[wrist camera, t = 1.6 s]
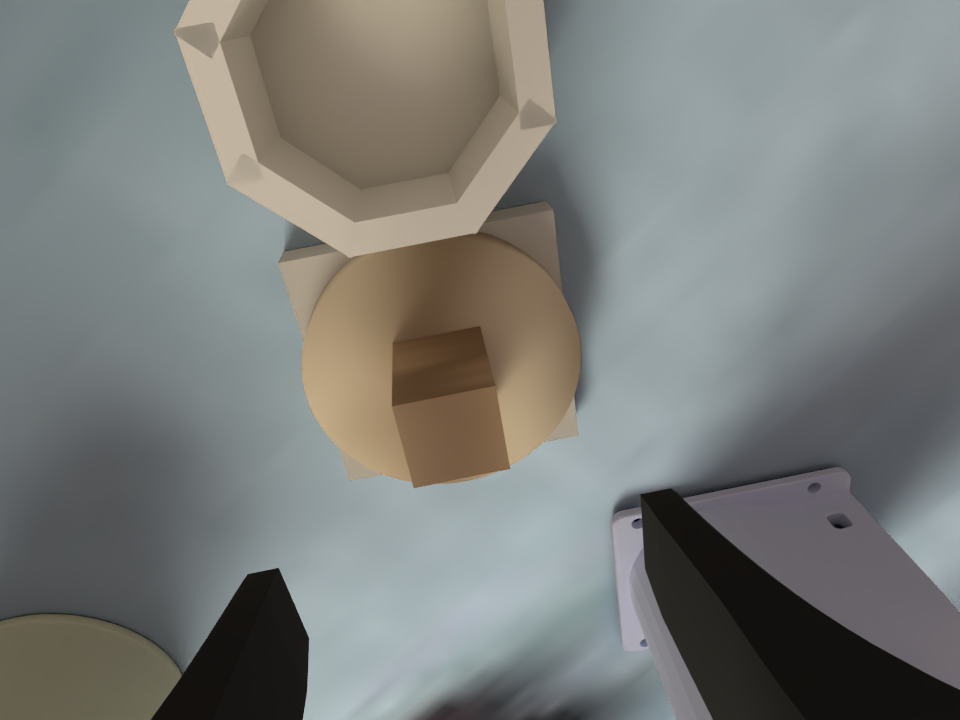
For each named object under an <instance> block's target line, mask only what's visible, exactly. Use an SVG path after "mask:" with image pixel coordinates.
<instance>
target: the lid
mask: <svg viewBox="0 0 960 720" xmlns="http://www.w3.org/2000/svg"><path fill="white" fill-rule="evenodd" d="M580 368H581V344H580V338H579V332H578V328H577V325H576V322H575V319H574V316H573V314H572V312H571V310H570V308H569V306H568V304H567V302H566V300H565V298H564V296H563V295H562V293H561V291H560V290H559V288H558V286H557V285H556V283H555V282H554V281H553V279H552V278H551V276H550V275H549V274H548V273H547V272H546V271H545V269H544V268H543V267H542V266H541V265H540V264H539V263H538V262H537V261H536V260H534V259H533V258H532V257H530V256H529V255H528V254H527V253H525V252H524V251H523V250H521V249H519V248H518V247H516V246H514V245H512V244H511V243H509V242H507V241H505V240H502V239H500V238H498V237H495V236H493V235H490V234H486V233H483V232H479V231H478V233H476V234H474V233H473V234H467V235H462V236H457V237H452V238H447V239H442V240H436V241H431V242H426V243H421V244H416V245H411V246H405V247H400V248H395V249H390V250H385V251H380V252H374V253H369V254H364V255H359V256H355V257H354V258H352V259H351V260H350V261H348V262H347V263H346V264H345V265H344V266H343V267H342V268H341V269H340V270H339V271H338V272H337V273H336V274H335V275H334V276H333V278H332V279H331V280H330V282H329V283H328V284H327V286H326V287H325V288H324V290H323V292H322V293H321V295H320V297H319V299H318V301H317V303H316V304H315V307H314V310H313V313H312V315H311V318H310V321H309V325H308V328H307V332H306V336H305V341H304V345H303V350H302V377H303V385H304V389H305V393H306V397H307V400H308V403H309V405H310V407H311V410H312V412H313V414H314V416H315V418H316V419H317V421H318V423H319V424H320V426H321V428H322V429H323V430H324V431H325V433H326V434H327V435H328V436H329V437H330V439H331V440H332V441H333V442H334V443H335V444H336V445H337V446H338V447H339V448H340V449H341V450H343V451H344V452H345V453H346V454H348V455H349V456H350V457H352V458H353V459H355V460H356V461H357V462H359V463H361V464H363V465H365V466H366V467H368V468H370V469H372V470H374V471H377V472H379V473H382V474H384V475H387V476H390V477H394V478H397V479H401V480H406V481H411V482H412V483H413V487H414V488H417V487H422V486H427V485H432V484H441V483H456V482H462V481H469V480H473V479H477V478H480V477H484V476H487V475H490V474H492V473H495V472H498V471H501V470H506V469H510V465H512V464H514V463H516V462H518V461H519V460H521V459H522V458H524V457H525V456H527V455H528V454H530V453H531V452H532V451H533V450H534V449H536V448H537V447H538V446H539V445H541V444H542V443H543V442H544V441H545V440H546V438H547V437H548V436H549V435H550V434H551V433H552V432H553V431H554V430H555V428H556V427H557V426H558V424H559V423H560V422H561V420H562V419H563V417H564V415H565V413H566V412H567V410H568V408H569V406H570V404H571V402H572V399H573V397H574V394H575V392H576V388H577V384H578V381H579V376H580Z"/></svg>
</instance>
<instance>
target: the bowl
mask: <svg viewBox="0 0 960 720" xmlns="http://www.w3.org/2000/svg"><path fill="white" fill-rule="evenodd" d="M174 31H175V32H174V34H175V35H176V37H177V39H178V42H179V45H180V48H181V51H182V54H183V57H184V60H185V62H186V65H187V68H188V71H189V74H190V77H191V80H192V83H193V86H194V88H195V91H196V94H197V97H198V100H199V103H200V106H201V109H202V111H203V114H204V117H205V120H206V123H207V126H208V129H209V132H210V134H211V137H212V140H213V143H214V146H215V149H216V152H217V155H218V158H219V160H220V163H221V166H222V169H223V172H224V175H225V178H226V181H227V182H226V183H227V184H228V186H232V187H233V188H235V189H237V190H238V191H240V192H242V193H243V194H245V195H247V196H248V197H250V198H252V199H253V200H255V201H257V202H258V203H260V204H262V205H263V206H265V207H267V208H268V209H270V210H272V211H273V212H275V213H277V214H278V215H280V216H282V217H283V218H285V219H287V220H288V221H290V222H291V223H293V224H295V225H296V226H298V227H300V228H301V229H303V230H305V231H306V232H308V233H310V234H311V235H313V236H315V237H316V238H318V239H320V240H321V241H323V242H325V243H326V244H328V245H330V246H331V247H333V248H335V249H336V250H338V251H340V252H341V253H343V254H345V255H346V256H347V257H348V258H349V257H350V258H352V257H354V256H359V255H364V254H369V253H374V252H380V251H385V250H390V249H395V248H400V247H405V246H411V245H416V244H421V243H426V242H431V241H436V240H442V239H447V238H452V237H457V236H462V235H467V234H473V233H474V234H476V233H478V230H479V228H480V227H481V226H482V224H483V223H484V221H485V220H486V219H487V217H488V216H489V214H490V213H491V212H492V210H493V209H494V207H495V206H496V205H497V203H498V202H499V200H500V199H501V198H502V196H503V195H504V193H505V192H506V191H507V189H508V188H509V186H510V185H511V184H512V182H513V181H514V179H515V178H516V177H517V175H518V174H519V172H520V171H521V170H522V168H523V167H524V165H525V164H526V163H527V161H528V160H529V158H530V157H531V156H532V154H533V153H534V151H535V150H536V149H537V147H538V146H539V144H540V143H541V142H542V140H543V139H544V137H545V136H546V135H547V133H548V132H549V130H550V129H551V128H552V126H553V125H554V124H556V121H557V119H556V118H555V108H554V99H553V89H552V79H551V69H550V60H549V50H548V40H547V30H546V21H545V11H544V1H543V0H189V3H188V5H187V7H186V9H185V11H184V13H183V15H182V17H181V19H180V22H179V24H178V26H177V28H176V29H174Z"/></svg>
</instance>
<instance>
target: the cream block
mask: <svg viewBox="0 0 960 720" xmlns="http://www.w3.org/2000/svg"><path fill="white" fill-rule="evenodd" d="M478 231H479V232H483V233H486V234H490V235H493V236H495V237H498V238H500V239H502V240H505V241H507V242H509V243H511V244H512V245H514V246H516V247H518V248H519V249H521V250H523V251H524V252H525V253H527V254H528V255H529V256H530V257H532V258H533V259H534V260H536V261H537V262H538V263H539V264H540V265H541V266H542V267H543V268H544V269H545V271H546V272H547V273H548V274H549V275H550V276H551V278H552V279H553V281H554V282H555V283H556V285H557V286H558V288H559V290H560V291H561V293H562V295H563V291H562V282H561V273H560V264H559V255H558V246H557V237H556V228H555V219H554V210H553V209H552V207H551V206H550V205H549V203H548V202H547V201H543V202H538V203H533V204H528V205H523V206H517V207H512V208H507V209H502V210H497V211H492V212H491V213H490V214H489V216H488V217H487V219H486V220H485V221H484V223H483V224H482V226H481V227H480V228H479V230H478ZM354 257H355V256H354ZM354 257H352V258H354ZM352 258H350V257H349V258H348V257H347V256H346V255H345V254H343V253H341V252H340V251H338V250H336V249H335V248H333V247H331V246H330V245H328V244H321V245H316V246H310V247H305V248H300V249H295V250H290V251H285V252H283V254H282V256H281V258H280V260H279V262H278V264H279V267H280V270H281V273H282V276H283V279H284V283H285V286H286V289H287V292H288V295H289V298H290V301H291V304H292V307H293V310H294V313H295V316H296V319H297V322H298V325H299V328H300V331H301V334H302V337H303V340H304V341H305V336H306V332H307V328H308V325H309V321H310V318H311V315H312V313H313V310H314V307H315V304H316V303H317V301H318V299H319V297H320V295H321V293H322V292H323V290H324V288H325V287H326V286H327V284H328V283H329V282H330V280H331V279H332V278H333V276H334V275H335V274H336V273H337V272H338V271H339V270H340V269H341V268H342V267H343V266H344V265H345V264H346V263H347V262H348V261H350V260H351V259H352ZM577 435H578V426H577V417H576V408H575V399H574V397H573V399H572V402H571V404H570V406H569V408H568V410H567V412H566V413H565V415H564V417H563V419H562V420H561V422H560V423H559V424H558V426H557V427H556V428H555V430H554V431H553V432H552V433H551V434H550V435H549V436H548V437H547V438H546V440H545V441H544V442H547V441H552V440H557V439H562V438H567V437H572V436H577ZM339 449H340V448H339ZM340 453H341V456H342V459H343V462H344V465H345V468H346V471H347V474H348V477H349V480H350V481H352V480H357V479H362V478H367V477H372V476H377V475H382V473H379V472H377V471H374V470H372V469H370V468H368V467H366V466H365V465H363V464H361V463H359V462H357V461H356V460H355V459H353V458H352V457H350V456H349V455H348V454H346V453H345V452H344V451H343V450H341V449H340Z"/></svg>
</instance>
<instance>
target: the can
mask: <svg viewBox="0 0 960 720" xmlns="http://www.w3.org/2000/svg"><path fill="white" fill-rule="evenodd" d="M181 677H182V674H181V672H180V670H179V669H178V667H177V666H176V664H175V663H174V662H173V661H172V659H171V658H170V657H169V656H168V655H167V654H166V653H165V652H164V651H163V650H161V649H160V648H159V647H158V646H157V645H155V644H154V643H152V642H151V641H149V640H148V639H146V638H144V637H142V636H141V635H139V634H137V633H135V632H133V631H131V630H129V629H126V628H124V627H121V626H119V625H116V624H113V623H109V622H106V621H103V620H99V619H94V618H89V617H83V616H76V615H66V614H38V615H28V616H22V617H15V618H11V619H7V620H3V621H0V720H151V718H152V717H153V716H154V714H155V713H156V711H157V710H158V709H159V707H160V706H161V705H162V703H163V702H164V700H165V699H166V698H167V696H168V695H169V693H170V692H171V691H172V689H173V688H174V687H175V685H176V684H177V682H178V681H179V679H180V678H181Z"/></svg>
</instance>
